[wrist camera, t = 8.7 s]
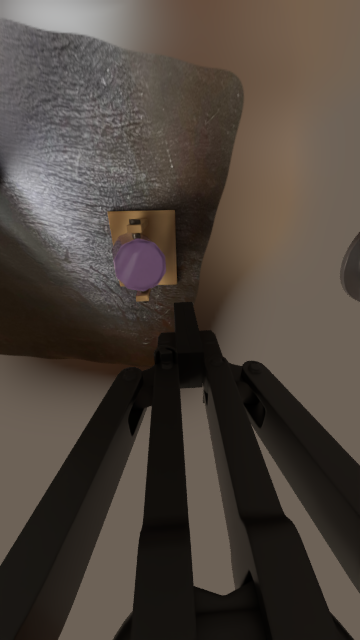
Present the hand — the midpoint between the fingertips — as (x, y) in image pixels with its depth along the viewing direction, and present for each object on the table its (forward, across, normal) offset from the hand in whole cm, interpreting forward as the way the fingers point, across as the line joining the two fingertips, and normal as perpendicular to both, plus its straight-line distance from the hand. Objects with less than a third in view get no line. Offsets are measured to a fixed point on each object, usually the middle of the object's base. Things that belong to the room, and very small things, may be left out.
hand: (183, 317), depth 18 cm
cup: (+16, -5, 0) cm, 17 cm away
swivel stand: (+28, -6, 0) cm, 29 cm away
